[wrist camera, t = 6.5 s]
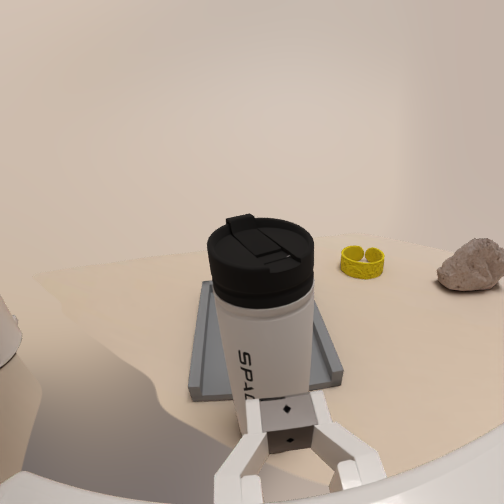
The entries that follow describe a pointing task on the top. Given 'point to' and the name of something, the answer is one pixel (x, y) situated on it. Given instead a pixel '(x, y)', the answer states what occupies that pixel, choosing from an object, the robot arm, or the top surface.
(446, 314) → the top surface
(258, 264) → the travel mug
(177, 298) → the top surface
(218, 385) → the slate tray
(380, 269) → the bracelet
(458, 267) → the pumice stone
